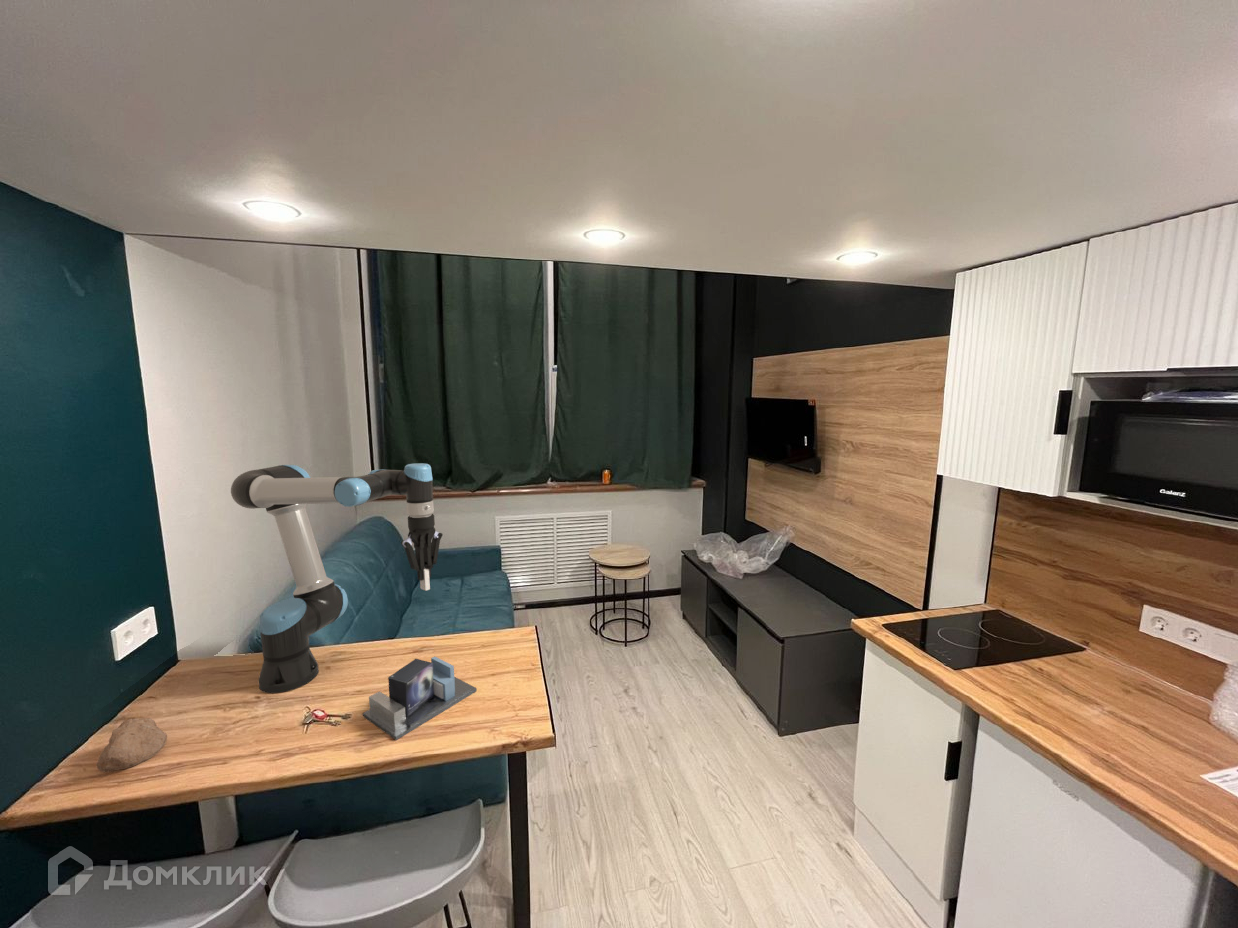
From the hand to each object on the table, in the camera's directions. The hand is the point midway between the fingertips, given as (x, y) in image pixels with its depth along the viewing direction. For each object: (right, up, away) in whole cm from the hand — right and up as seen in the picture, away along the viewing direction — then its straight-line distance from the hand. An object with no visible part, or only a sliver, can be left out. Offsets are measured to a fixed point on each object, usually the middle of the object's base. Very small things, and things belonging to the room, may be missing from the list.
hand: (425, 588), depth 151 cm
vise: (+4, -29, -15) cm, 33 cm away
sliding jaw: (+8, -27, -10) cm, 30 cm away
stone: (-56, -32, -34) cm, 73 cm away
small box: (+3, -28, -16) cm, 33 cm away
